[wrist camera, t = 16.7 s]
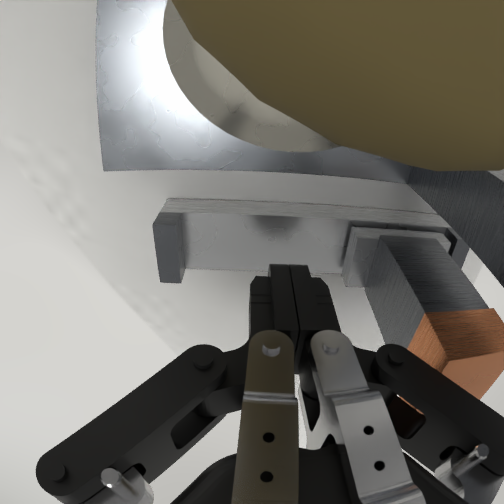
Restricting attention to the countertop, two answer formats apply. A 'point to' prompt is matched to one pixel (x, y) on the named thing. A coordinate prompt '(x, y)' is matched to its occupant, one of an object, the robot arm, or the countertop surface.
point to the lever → (427, 304)
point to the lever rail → (273, 234)
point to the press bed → (246, 125)
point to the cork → (371, 71)
